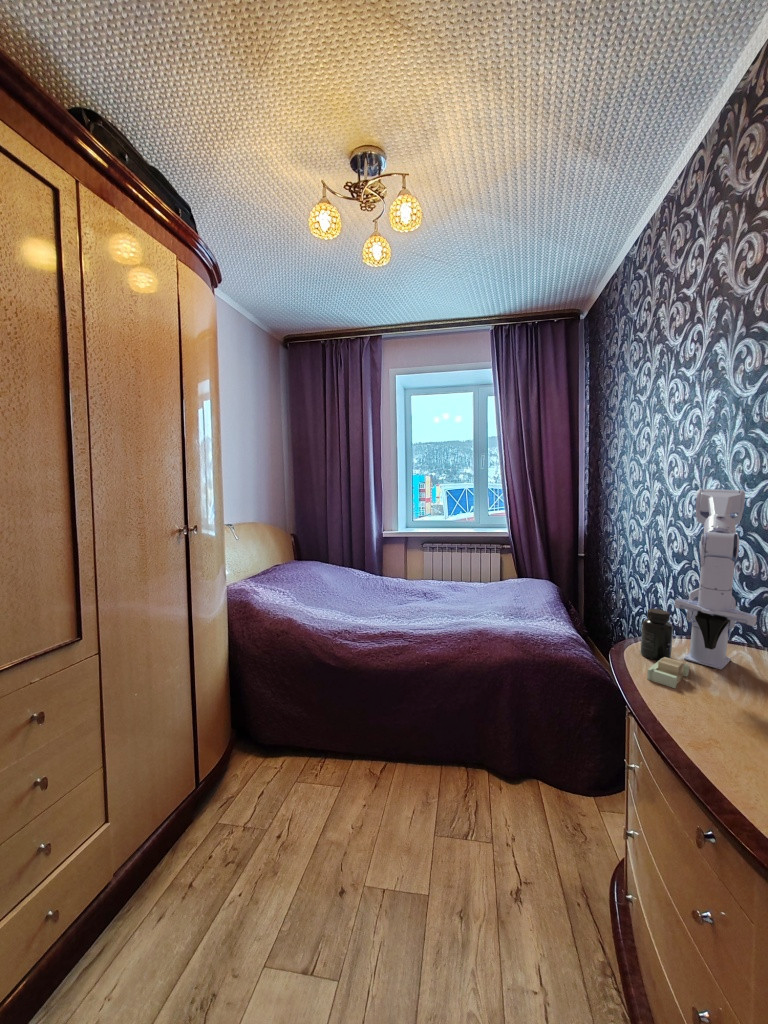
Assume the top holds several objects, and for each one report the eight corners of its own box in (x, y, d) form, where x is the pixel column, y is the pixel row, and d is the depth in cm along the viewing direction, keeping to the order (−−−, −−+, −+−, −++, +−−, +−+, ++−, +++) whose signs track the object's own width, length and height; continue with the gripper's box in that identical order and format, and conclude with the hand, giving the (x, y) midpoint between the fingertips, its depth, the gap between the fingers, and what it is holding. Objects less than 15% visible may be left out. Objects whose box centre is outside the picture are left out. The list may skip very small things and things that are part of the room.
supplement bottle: (675, 663, 112) (679, 616, 111) (645, 660, 114) (649, 614, 113) (664, 652, 119) (667, 608, 118) (636, 649, 120) (639, 606, 119)
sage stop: (661, 667, 110) (662, 657, 110) (688, 675, 106) (689, 665, 106) (647, 679, 103) (647, 669, 103) (674, 688, 99) (675, 678, 99)
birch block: (663, 672, 107) (664, 656, 107) (682, 678, 104) (683, 662, 104) (657, 677, 104) (658, 661, 104) (676, 684, 101) (678, 667, 101)
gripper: (670, 582, 100) (666, 641, 102) (750, 598, 89) (744, 664, 90) (683, 578, 105) (679, 634, 106) (762, 592, 93) (756, 655, 94)
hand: (710, 647), depth 98 cm, fingers closed
